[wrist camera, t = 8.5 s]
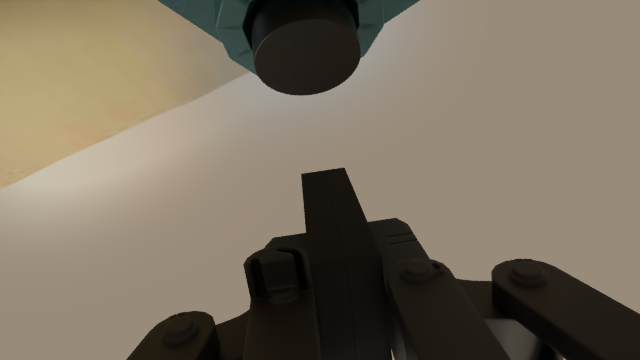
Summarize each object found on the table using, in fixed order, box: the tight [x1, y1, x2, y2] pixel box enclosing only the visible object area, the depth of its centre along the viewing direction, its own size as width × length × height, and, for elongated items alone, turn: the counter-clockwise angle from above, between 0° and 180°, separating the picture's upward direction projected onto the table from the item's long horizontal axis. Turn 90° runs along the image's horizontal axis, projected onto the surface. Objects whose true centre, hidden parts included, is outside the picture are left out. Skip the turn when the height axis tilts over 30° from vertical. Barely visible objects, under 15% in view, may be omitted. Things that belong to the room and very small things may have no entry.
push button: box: [250, 0, 361, 95], centre depth 21 cm, size 5×5×3 cm
